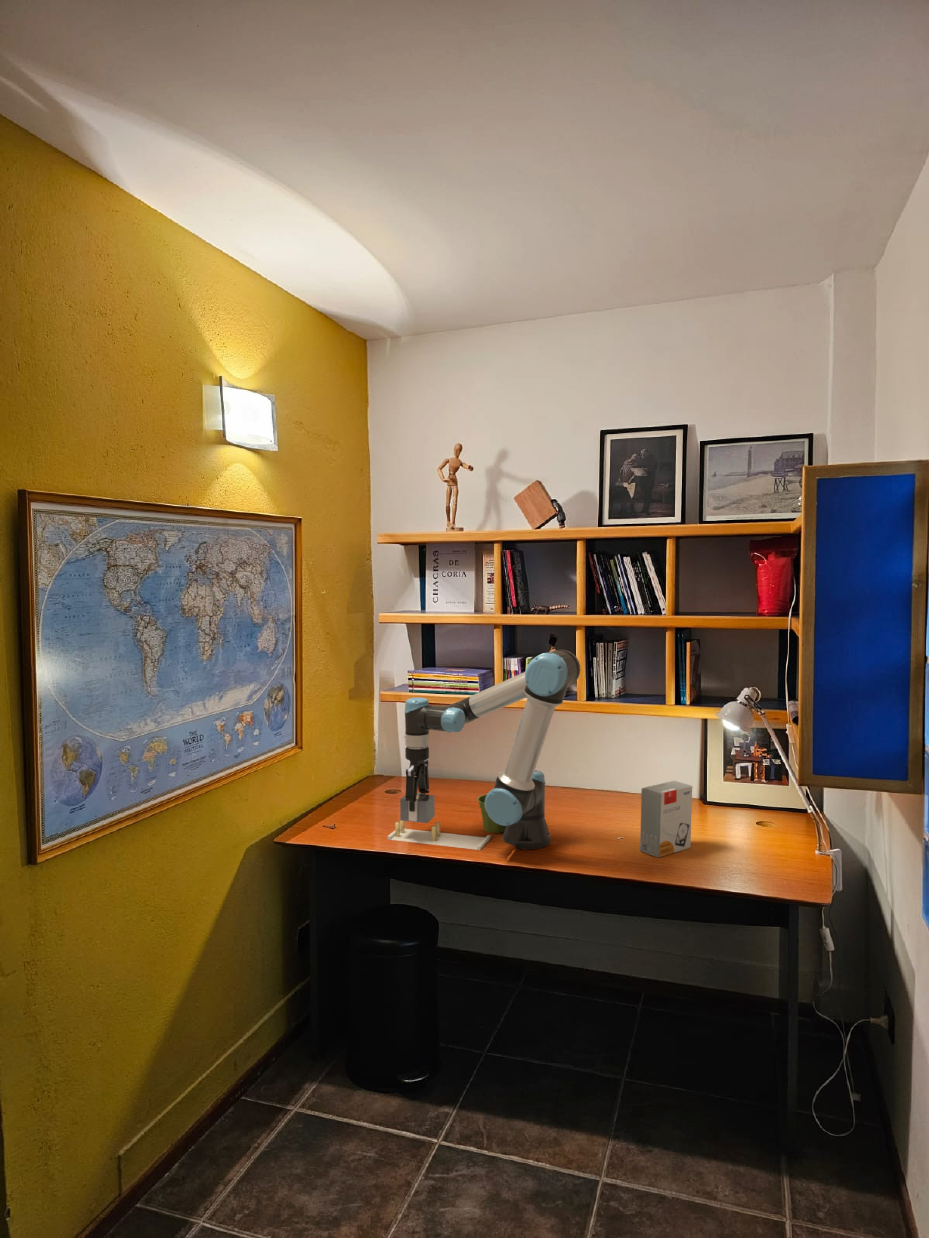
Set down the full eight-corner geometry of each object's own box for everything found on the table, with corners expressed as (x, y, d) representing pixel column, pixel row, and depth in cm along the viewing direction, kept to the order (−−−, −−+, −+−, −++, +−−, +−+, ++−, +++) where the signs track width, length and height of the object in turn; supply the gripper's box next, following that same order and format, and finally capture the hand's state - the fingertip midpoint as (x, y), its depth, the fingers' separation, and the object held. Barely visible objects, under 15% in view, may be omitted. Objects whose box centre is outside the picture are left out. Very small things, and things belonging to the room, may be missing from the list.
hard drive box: (658, 858, 239) (659, 793, 238) (639, 851, 246) (639, 787, 244) (691, 847, 248) (692, 784, 247) (672, 840, 255) (672, 779, 253)
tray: (490, 841, 255) (490, 824, 255) (480, 853, 245) (480, 835, 244) (401, 831, 265) (400, 814, 265) (387, 842, 255) (387, 825, 254)
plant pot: (470, 831, 265) (470, 798, 264) (496, 823, 272) (496, 791, 271) (494, 840, 256) (494, 806, 255) (520, 832, 263) (520, 799, 262)
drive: (434, 816, 259) (434, 795, 258) (426, 823, 252) (426, 801, 251) (408, 813, 261) (408, 792, 261) (400, 820, 255) (400, 798, 254)
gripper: (417, 739, 266) (418, 806, 267) (393, 752, 247) (394, 825, 248) (439, 740, 263) (439, 808, 265) (416, 754, 244) (416, 827, 246)
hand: (417, 816), depth 257 cm, fingers closed on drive, 7 cm apart
